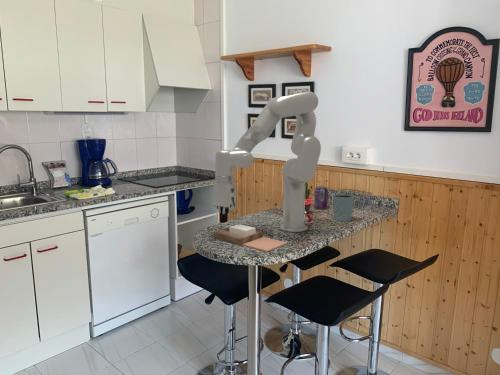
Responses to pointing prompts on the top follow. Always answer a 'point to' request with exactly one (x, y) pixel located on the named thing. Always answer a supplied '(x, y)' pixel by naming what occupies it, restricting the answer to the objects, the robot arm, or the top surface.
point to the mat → (265, 244)
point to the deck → (235, 236)
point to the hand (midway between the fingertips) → (223, 222)
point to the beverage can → (321, 197)
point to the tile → (242, 230)
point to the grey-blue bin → (343, 207)
